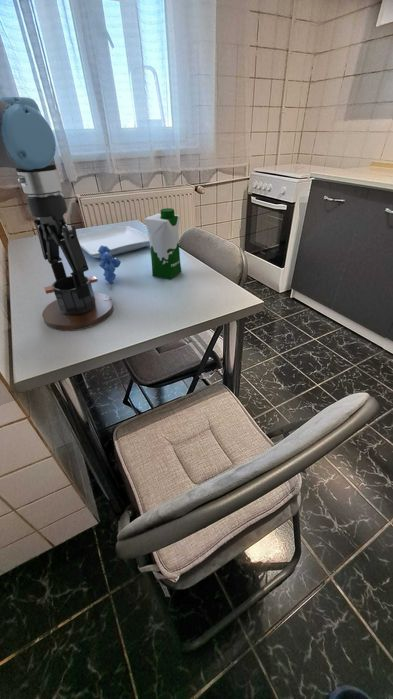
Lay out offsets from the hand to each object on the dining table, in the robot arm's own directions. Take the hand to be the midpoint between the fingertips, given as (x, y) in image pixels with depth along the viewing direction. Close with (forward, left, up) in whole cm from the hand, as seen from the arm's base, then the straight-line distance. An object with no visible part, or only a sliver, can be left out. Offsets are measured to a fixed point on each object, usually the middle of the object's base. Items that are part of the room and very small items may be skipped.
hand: (73, 292), depth 75 cm
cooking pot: (0, 0, -4) cm, 4 cm away
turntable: (0, 0, -6) cm, 6 cm away
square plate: (+25, +49, -6) cm, 55 cm away
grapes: (+14, +14, -6) cm, 21 cm away
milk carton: (+31, +10, -6) cm, 33 cm away
